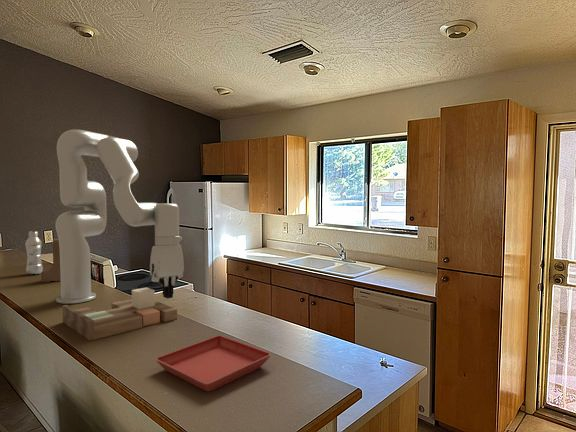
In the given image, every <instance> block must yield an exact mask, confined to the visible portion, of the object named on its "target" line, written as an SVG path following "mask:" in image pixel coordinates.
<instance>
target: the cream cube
mask: <svg viewBox="0 0 576 432" xmlns="http://www.w3.org/2000/svg"><path fill="white" fill-rule="evenodd" d="M155 291H156V290H155V289H153V288H149V287H141V288H136V289H131V299H132V306H133V307H135V308H138V309H143V308H148V307H152V306H155V301H156V297H155V295H156V294H155Z"/></svg>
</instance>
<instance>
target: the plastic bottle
mask: <svg viewBox="0 0 576 432" xmlns="http://www.w3.org/2000/svg"><path fill="white" fill-rule="evenodd" d="M38 236H39V231H28V238H27V239H26V240H25V243H24V245H25V250H26V255H27V258H26V267H25V268H26V269H25V271H26V273H27V275H33V274H35V275H39V274H41V272H42V271H43V269H44V267H43V266H44V265H43V263H42V244H43V242H42V239H40V238H39V237H38Z"/></svg>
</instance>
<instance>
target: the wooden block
mask: <svg viewBox="0 0 576 432" xmlns="http://www.w3.org/2000/svg"><path fill="white" fill-rule="evenodd" d="M40 275H41V283H51V282H50V281H55V282H61V275H60V248H59V239H58V238H54V239H52V266H50V268H49V269H48V268H47V269H44V270H43V271H42V272H41V273H40Z"/></svg>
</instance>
